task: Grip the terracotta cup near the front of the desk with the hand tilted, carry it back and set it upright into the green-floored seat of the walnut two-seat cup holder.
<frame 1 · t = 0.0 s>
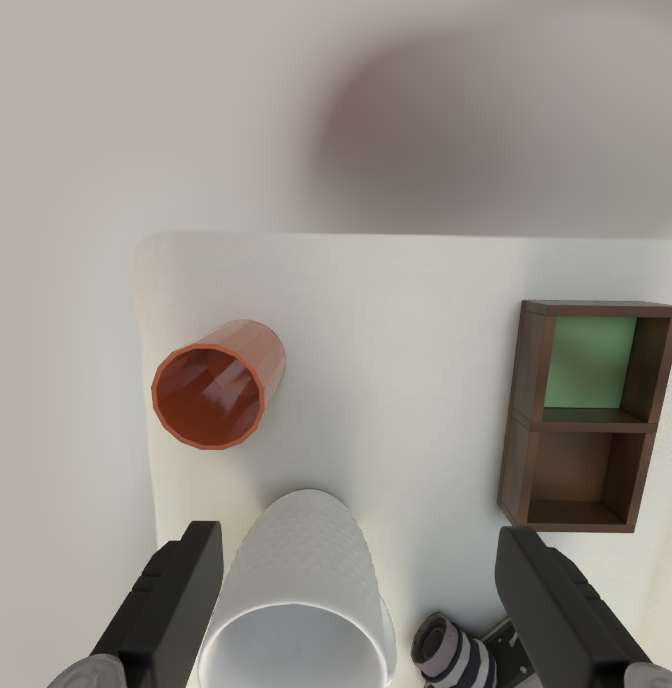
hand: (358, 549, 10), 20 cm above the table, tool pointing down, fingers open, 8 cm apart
camera: (457, 631, 36), on the table
mug: (318, 525, 34), on the table
holder: (565, 408, 31), on the table
cup: (245, 359, 30), on the table
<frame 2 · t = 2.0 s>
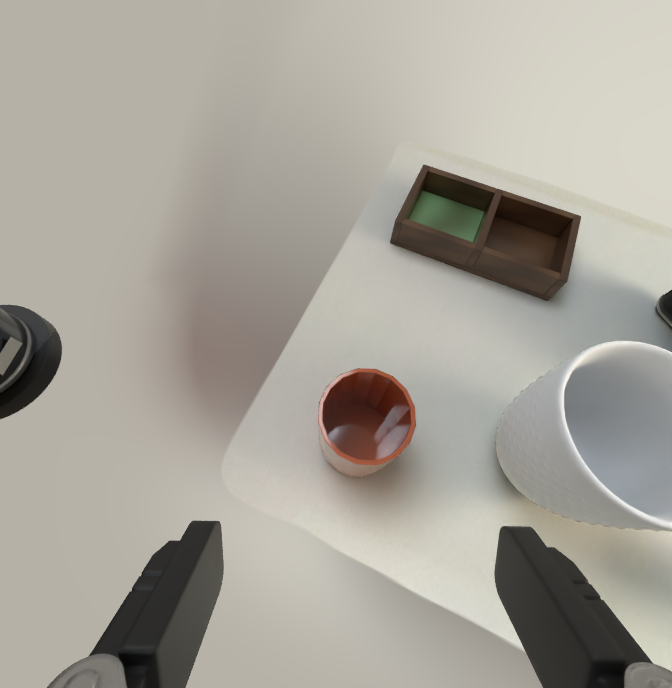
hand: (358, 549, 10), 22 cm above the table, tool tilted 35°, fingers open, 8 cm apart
mug: (544, 451, 33), on the table
holder: (477, 240, 43), on the table
cup: (356, 438, 33), on the table
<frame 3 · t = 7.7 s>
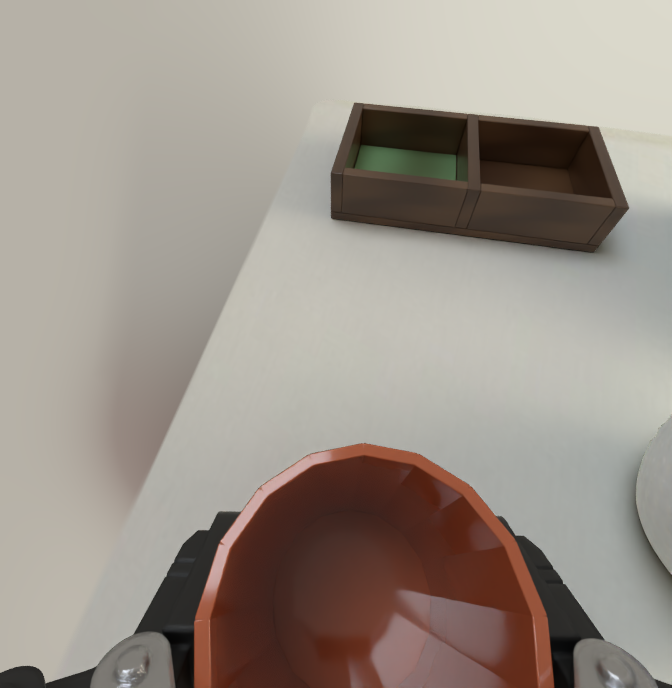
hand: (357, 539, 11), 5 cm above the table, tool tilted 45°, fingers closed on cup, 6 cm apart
holder: (458, 193, 28), on the table
cup: (351, 595, 14), on the table, touching gripper
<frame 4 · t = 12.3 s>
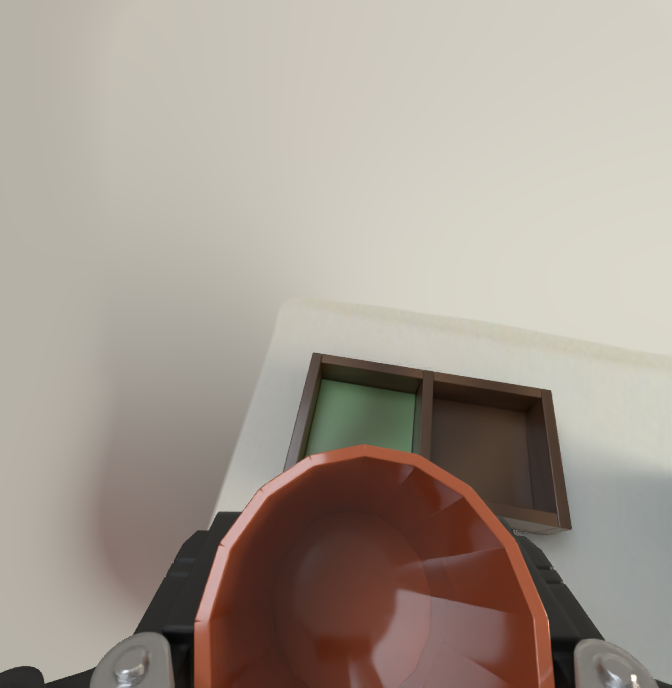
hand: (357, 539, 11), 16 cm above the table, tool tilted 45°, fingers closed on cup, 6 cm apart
holder: (416, 444, 29), on the table
cup: (351, 596, 14), point 11 cm above the table, touching gripper
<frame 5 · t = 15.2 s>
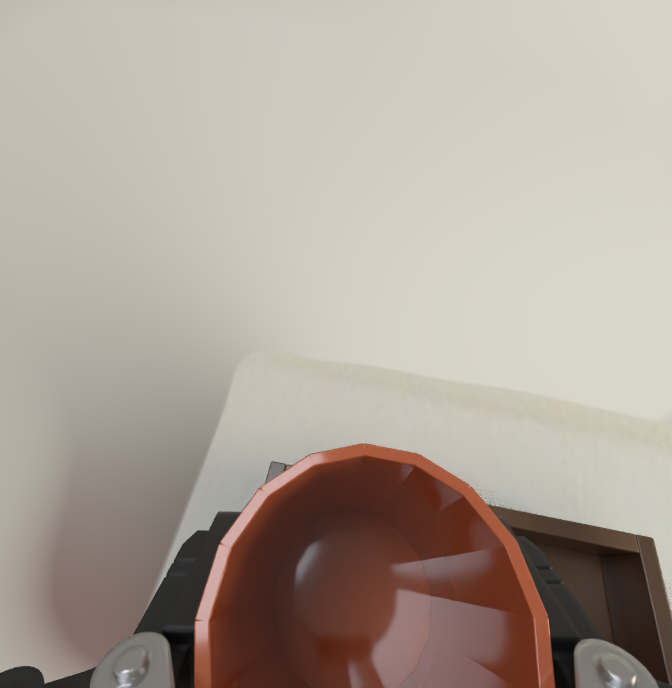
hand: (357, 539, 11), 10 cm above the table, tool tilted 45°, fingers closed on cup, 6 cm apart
holder: (431, 610, 18), on the table
cup: (351, 595, 14), point 5 cm above the table, touching gripper
when the fingers open (6 cm above the table, at t = 17.1 s): cup stays where it is, resting on holder.
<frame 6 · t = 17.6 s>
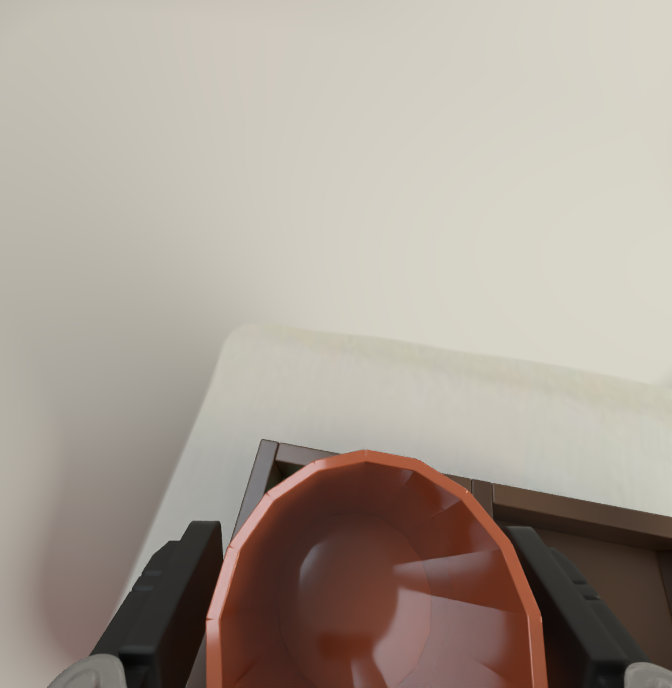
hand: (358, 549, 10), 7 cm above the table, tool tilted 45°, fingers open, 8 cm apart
holder: (455, 617, 15), on the table
cup: (353, 595, 15), point 1 cm above the table, touching holder
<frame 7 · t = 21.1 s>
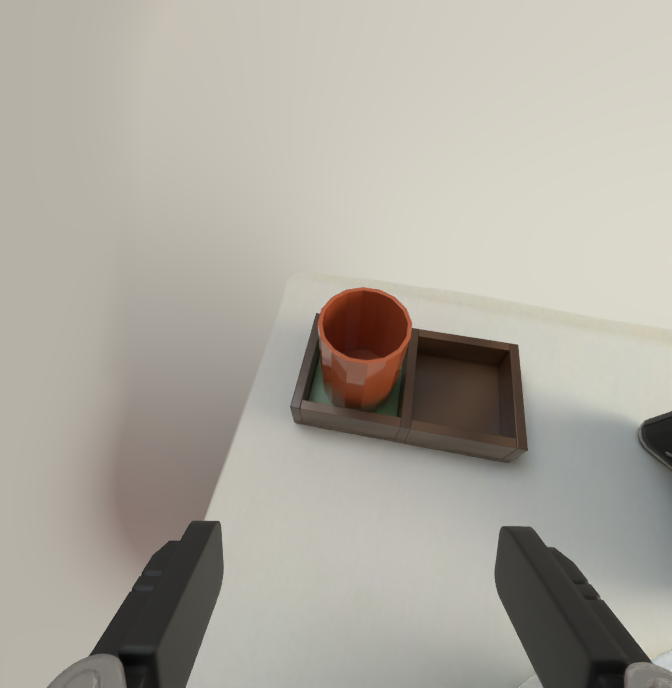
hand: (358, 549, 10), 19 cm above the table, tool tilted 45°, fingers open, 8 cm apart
holder: (403, 392, 34), on the table
cup: (358, 380, 33), point 1 cm above the table, touching holder
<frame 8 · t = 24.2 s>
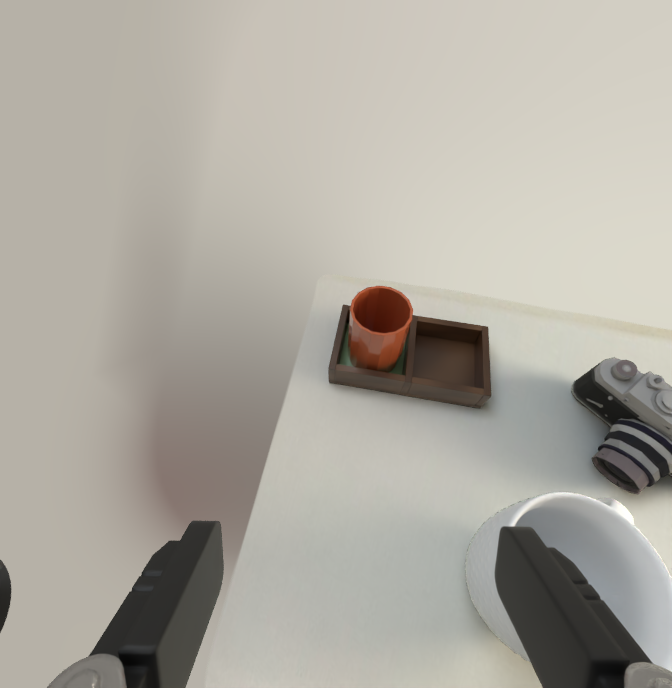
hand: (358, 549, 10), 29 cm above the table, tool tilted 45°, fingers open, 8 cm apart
camera: (614, 450, 41), on the table
mug: (513, 571, 35), on the table
holder: (406, 361, 47), on the table
cup: (373, 352, 46), point 1 cm above the table, touching holder
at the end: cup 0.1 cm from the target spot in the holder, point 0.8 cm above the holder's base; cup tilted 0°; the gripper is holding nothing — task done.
